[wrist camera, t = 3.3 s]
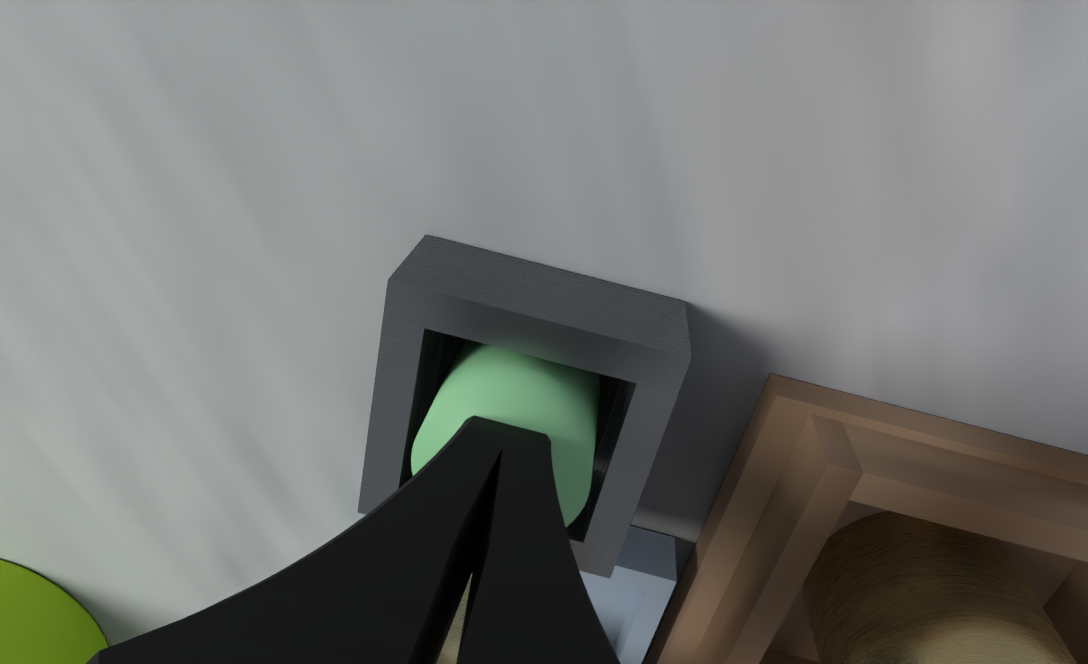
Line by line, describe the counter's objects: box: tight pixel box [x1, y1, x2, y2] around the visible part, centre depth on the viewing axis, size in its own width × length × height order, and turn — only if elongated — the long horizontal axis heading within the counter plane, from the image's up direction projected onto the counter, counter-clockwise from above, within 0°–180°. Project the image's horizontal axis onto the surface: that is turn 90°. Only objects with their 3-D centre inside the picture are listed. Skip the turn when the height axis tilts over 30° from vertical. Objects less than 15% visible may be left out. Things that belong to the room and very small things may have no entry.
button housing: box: [358, 235, 692, 579], centre depth 14 cm, size 5×5×2 cm
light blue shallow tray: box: [364, 514, 677, 664], centre depth 17 cm, size 7×8×1 cm
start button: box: [411, 339, 601, 527], centre depth 13 cm, size 3×3×3 cm
